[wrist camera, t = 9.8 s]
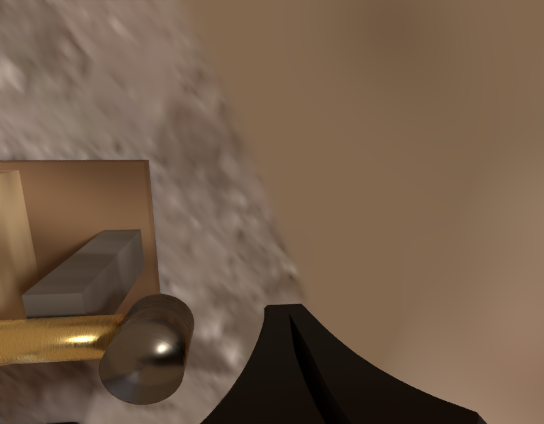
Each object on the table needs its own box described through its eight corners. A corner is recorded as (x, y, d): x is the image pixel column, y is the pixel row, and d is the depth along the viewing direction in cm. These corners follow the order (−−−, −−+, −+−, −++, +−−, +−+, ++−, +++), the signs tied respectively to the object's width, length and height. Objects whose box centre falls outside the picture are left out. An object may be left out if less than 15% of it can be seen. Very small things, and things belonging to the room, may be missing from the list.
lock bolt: (196, 348, 13) (185, 401, 10) (-60, 363, 12) (-136, 424, 9) (192, 291, 12) (181, 333, 10) (-78, 302, 11) (-165, 351, 9)
